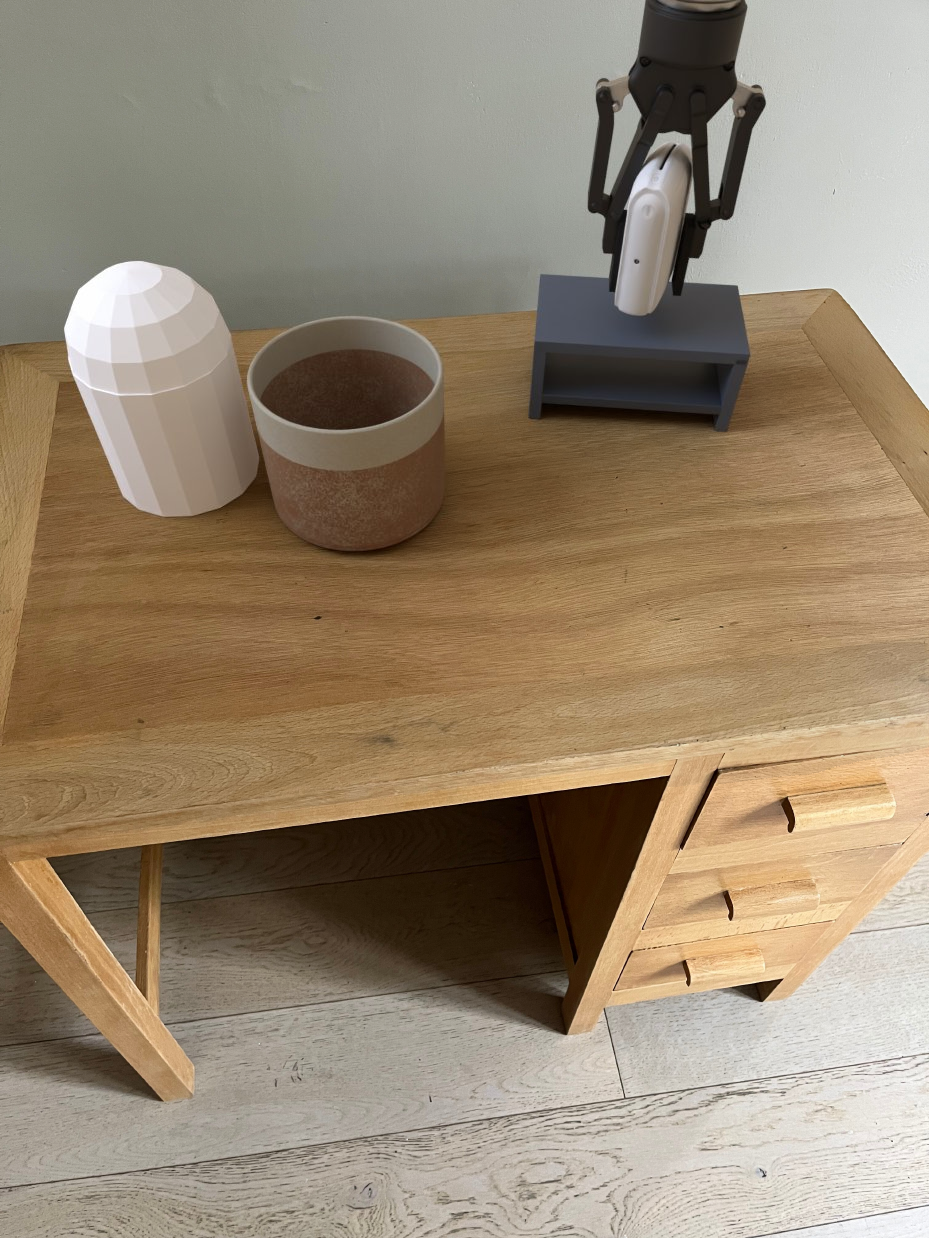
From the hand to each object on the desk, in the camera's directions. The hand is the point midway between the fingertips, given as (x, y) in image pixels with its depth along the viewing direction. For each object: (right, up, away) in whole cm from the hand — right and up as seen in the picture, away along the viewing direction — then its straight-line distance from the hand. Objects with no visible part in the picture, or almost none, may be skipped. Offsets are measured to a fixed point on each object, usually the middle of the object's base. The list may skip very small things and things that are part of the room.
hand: (644, 285), depth 81 cm
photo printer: (0, 0, 0) cm, 0 cm away
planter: (-27, -20, -1) cm, 34 cm away
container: (-44, -17, +1) cm, 47 cm away
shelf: (0, -7, +9) cm, 12 cm away
